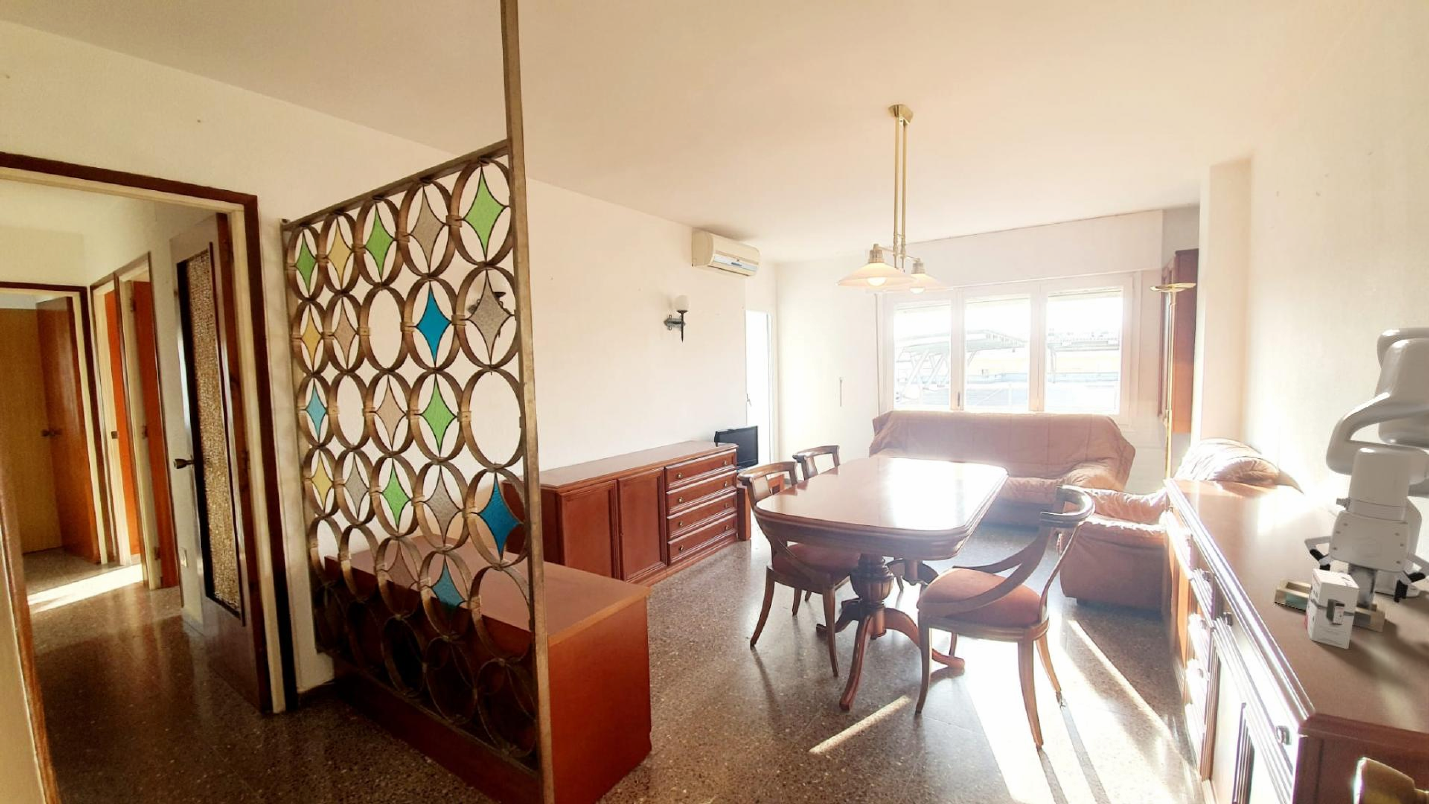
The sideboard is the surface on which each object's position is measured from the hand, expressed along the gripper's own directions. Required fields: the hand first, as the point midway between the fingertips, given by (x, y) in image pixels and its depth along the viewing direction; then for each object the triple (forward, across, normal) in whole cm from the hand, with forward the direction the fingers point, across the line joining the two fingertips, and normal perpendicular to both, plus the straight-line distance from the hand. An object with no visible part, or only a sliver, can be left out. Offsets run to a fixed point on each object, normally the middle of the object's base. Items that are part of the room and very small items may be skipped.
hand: (1359, 591), depth 114 cm
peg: (+6, 0, 0) cm, 6 cm away
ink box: (+6, -3, -16) cm, 18 cm away
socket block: (+6, -4, 0) cm, 7 cm away
